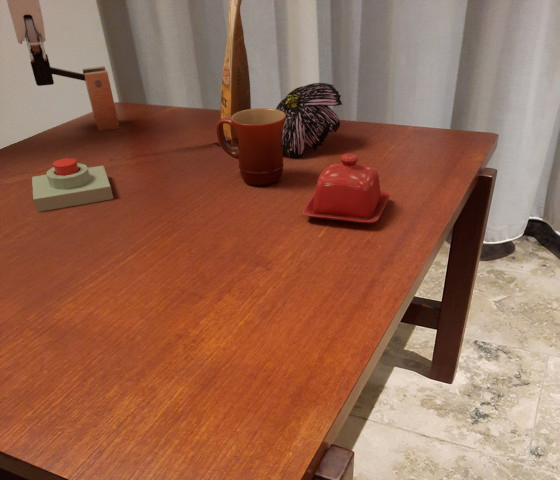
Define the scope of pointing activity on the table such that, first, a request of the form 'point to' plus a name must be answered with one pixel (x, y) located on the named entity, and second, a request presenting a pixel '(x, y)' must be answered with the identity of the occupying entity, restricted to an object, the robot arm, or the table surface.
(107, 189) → the button housing
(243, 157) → the mug
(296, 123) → the decorative flower
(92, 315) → the table surface
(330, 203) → the butter dish
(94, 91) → the bracket
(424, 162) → the table surface
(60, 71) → the lever
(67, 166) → the button
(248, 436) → the table surface
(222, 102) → the pancake mix bag
